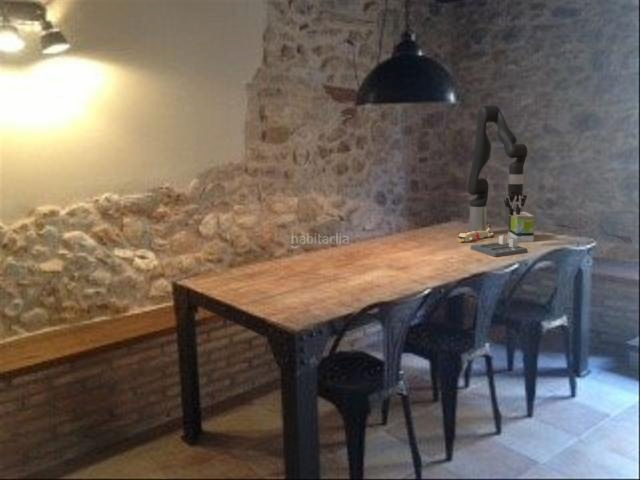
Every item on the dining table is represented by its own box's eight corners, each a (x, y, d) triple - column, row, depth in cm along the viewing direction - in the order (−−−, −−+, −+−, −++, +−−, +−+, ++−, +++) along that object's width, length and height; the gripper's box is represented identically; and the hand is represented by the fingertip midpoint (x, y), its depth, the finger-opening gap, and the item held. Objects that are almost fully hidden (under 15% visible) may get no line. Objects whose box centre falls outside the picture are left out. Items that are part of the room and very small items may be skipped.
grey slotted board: (470, 249, 308) (470, 244, 307) (501, 244, 315) (501, 240, 314) (495, 257, 289) (495, 252, 289) (527, 252, 296) (527, 247, 296)
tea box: (534, 241, 319) (535, 215, 316) (515, 242, 319) (516, 216, 316) (525, 236, 334) (526, 210, 330) (507, 236, 334) (508, 211, 331)
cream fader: (498, 243, 308) (499, 235, 307) (503, 242, 309) (503, 234, 308) (502, 244, 305) (502, 236, 304) (507, 243, 306) (507, 235, 305)
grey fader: (508, 246, 301) (509, 237, 300) (513, 245, 302) (513, 237, 301) (512, 247, 298) (513, 238, 297) (517, 246, 299) (517, 238, 298)
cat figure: (483, 237, 340) (452, 240, 327) (484, 222, 339) (453, 225, 326) (496, 240, 332) (465, 243, 319) (498, 225, 331) (466, 227, 318)
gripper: (521, 180, 309) (520, 212, 312) (500, 183, 304) (499, 215, 307) (531, 182, 302) (530, 214, 306) (509, 184, 297) (508, 217, 301)
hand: (514, 214), depth 306 cm, fingers open, 3 cm apart
